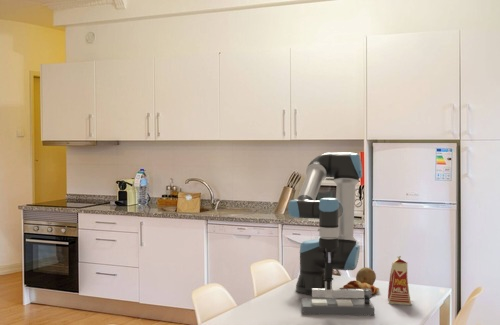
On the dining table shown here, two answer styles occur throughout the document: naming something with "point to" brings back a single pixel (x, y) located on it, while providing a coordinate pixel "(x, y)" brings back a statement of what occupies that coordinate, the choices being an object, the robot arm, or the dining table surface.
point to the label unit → (338, 306)
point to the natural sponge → (366, 276)
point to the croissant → (360, 286)
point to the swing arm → (343, 293)
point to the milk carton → (399, 283)
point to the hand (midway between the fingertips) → (328, 297)
